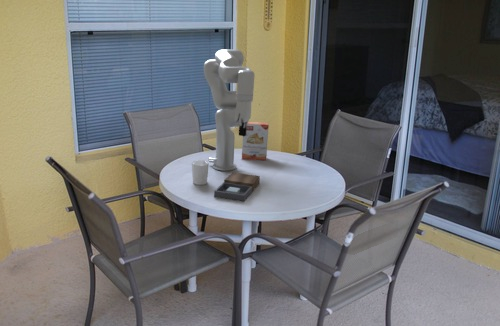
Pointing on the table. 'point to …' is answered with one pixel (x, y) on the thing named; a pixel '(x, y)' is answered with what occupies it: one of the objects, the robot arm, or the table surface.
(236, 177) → the board
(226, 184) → the tray
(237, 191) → the tile
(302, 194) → the table surface
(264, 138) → the cracker box
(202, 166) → the white cup
